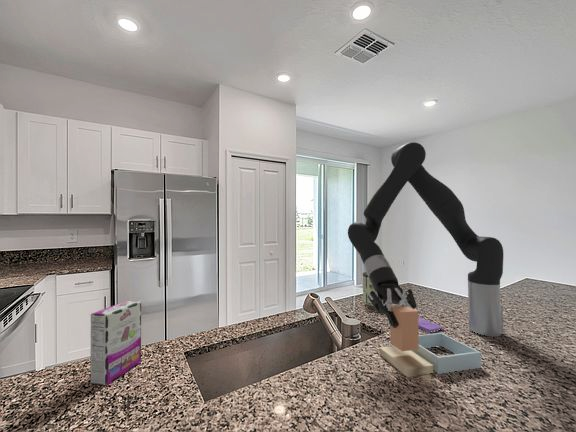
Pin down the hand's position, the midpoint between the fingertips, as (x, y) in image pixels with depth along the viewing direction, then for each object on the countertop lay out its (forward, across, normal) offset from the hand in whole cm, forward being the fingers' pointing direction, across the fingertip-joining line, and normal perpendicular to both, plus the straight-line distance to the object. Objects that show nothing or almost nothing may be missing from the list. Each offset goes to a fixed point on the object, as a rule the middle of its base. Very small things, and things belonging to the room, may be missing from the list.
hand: (405, 325), depth 73 cm
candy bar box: (-2, -73, +17) cm, 75 cm away
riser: (+7, 0, +8) cm, 10 cm away
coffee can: (-30, +23, +45) cm, 59 cm away
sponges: (-9, +25, +24) cm, 36 cm away
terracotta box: (+4, 0, +4) cm, 6 cm away
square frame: (+7, +12, +8) cm, 15 cm away
